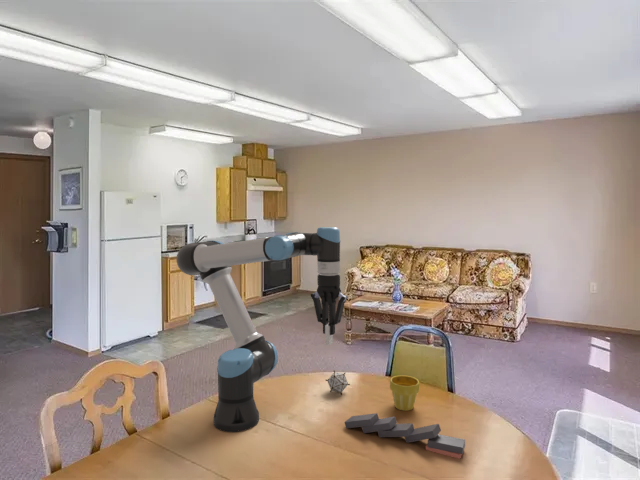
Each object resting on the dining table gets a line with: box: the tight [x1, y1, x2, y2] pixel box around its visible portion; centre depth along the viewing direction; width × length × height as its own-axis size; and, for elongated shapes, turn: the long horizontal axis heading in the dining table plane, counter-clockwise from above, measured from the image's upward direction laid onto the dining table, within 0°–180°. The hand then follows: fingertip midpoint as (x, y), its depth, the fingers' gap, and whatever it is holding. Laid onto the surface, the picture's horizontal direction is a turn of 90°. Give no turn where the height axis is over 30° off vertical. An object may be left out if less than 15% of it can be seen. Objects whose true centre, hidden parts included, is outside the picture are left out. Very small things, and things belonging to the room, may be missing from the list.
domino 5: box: [427, 433, 466, 455], centre depth 135 cm, size 2×5×10 cm
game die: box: [325, 370, 351, 396], centre depth 177 cm, size 9×8×10 cm
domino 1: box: [344, 412, 380, 429], centre depth 148 cm, size 2×5×10 cm
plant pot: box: [389, 374, 420, 412], centre depth 164 cm, size 10×10×10 cm
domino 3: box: [377, 422, 415, 438], centre depth 142 cm, size 2×5×10 cm
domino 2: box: [361, 416, 398, 434], centre depth 145 cm, size 2×5×10 cm
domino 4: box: [404, 423, 442, 444], centre depth 139 cm, size 2×5×10 cm
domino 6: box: [425, 443, 463, 460], centre depth 135 cm, size 2×5×10 cm
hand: (329, 343), depth 152 cm, fingers closed
